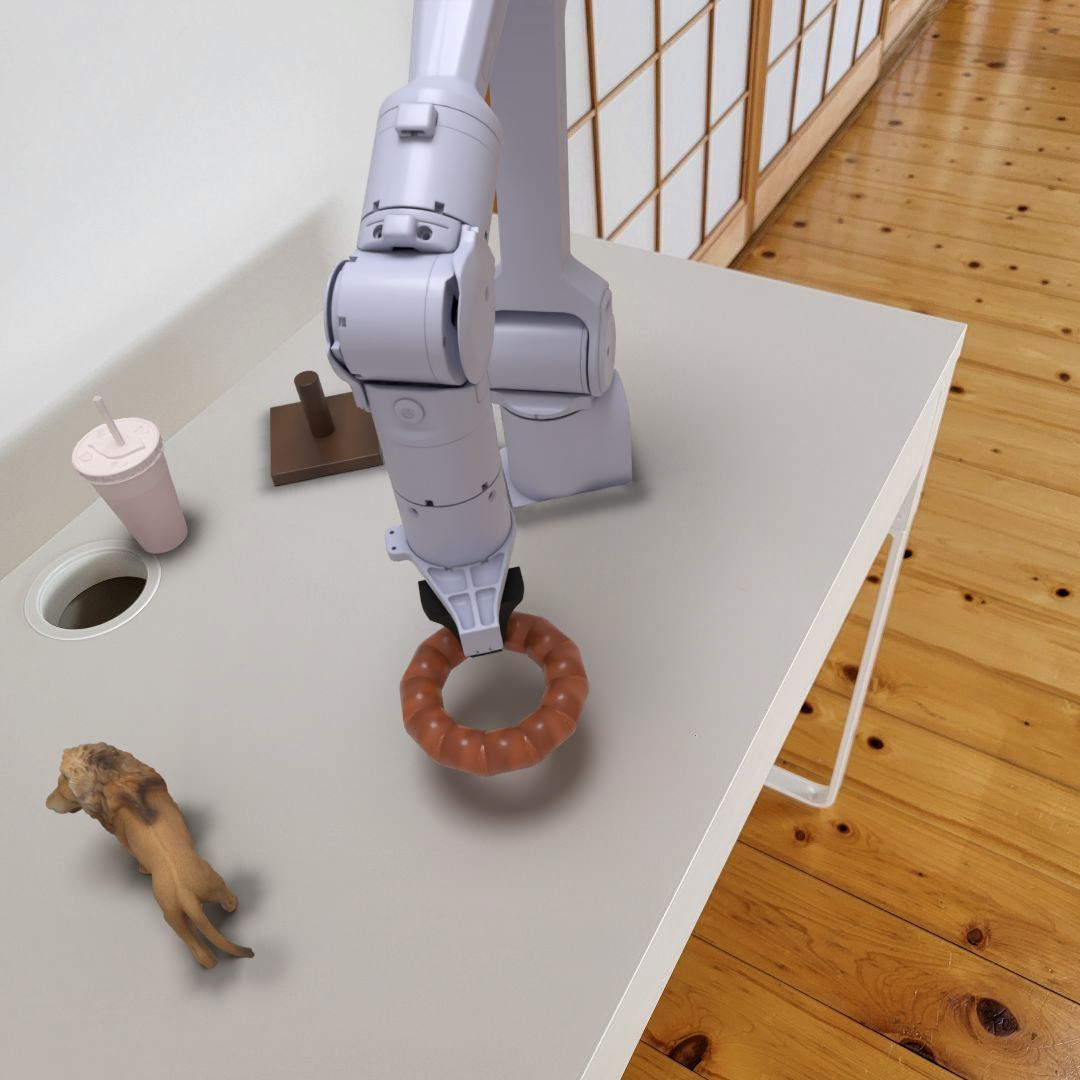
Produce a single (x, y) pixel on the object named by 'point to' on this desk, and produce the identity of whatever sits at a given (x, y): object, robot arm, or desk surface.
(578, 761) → the desk surface
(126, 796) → the lion figurine
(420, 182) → the robot arm
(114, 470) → the smoothie
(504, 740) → the ring
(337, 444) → the peg stand
